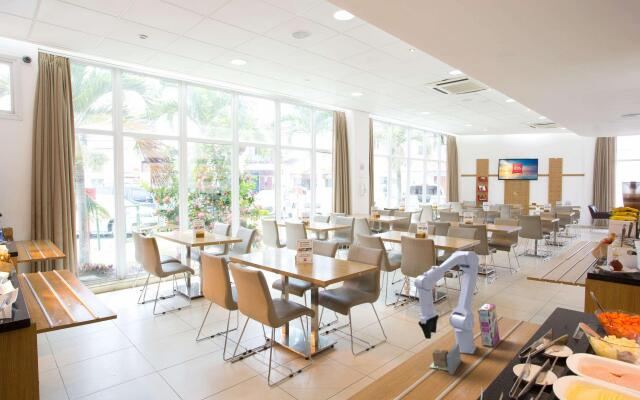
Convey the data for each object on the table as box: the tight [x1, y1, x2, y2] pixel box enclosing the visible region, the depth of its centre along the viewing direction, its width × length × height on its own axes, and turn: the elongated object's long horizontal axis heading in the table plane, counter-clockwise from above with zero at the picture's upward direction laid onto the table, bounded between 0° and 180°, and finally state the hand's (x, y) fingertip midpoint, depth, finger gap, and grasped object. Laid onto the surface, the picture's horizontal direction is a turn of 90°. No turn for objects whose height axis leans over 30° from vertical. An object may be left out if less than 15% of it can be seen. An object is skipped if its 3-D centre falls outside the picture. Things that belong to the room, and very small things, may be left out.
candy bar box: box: [477, 303, 500, 348], centre depth 172 cm, size 11×5×16 cm, turn 141°
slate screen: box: [447, 343, 462, 376], centre depth 151 cm, size 14×2×7 cm, turn 147°
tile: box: [429, 361, 448, 371], centre depth 154 cm, size 8×8×1 cm
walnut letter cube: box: [432, 348, 449, 367], centre depth 154 cm, size 5×5×5 cm
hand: (430, 335), depth 161 cm, fingers open, 7 cm apart
